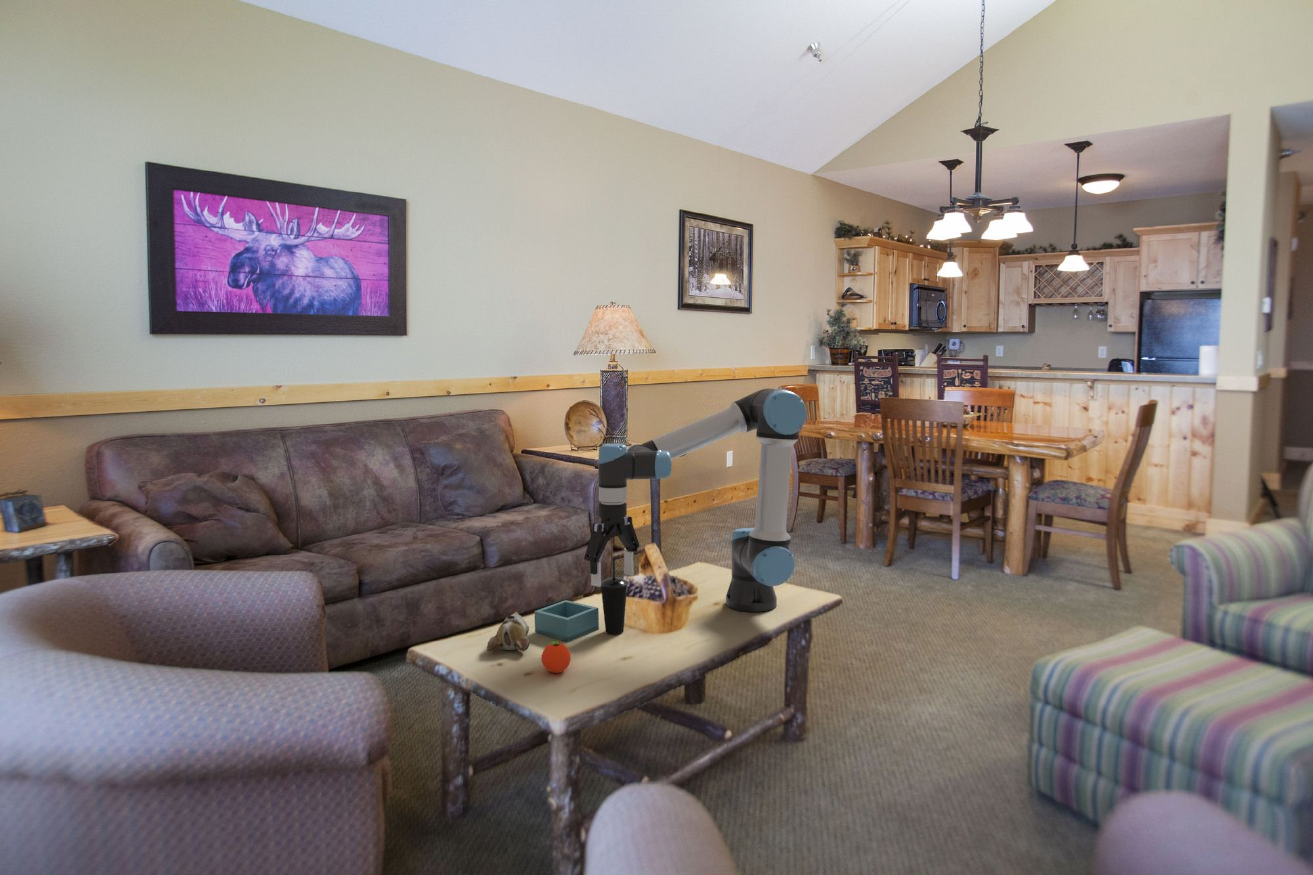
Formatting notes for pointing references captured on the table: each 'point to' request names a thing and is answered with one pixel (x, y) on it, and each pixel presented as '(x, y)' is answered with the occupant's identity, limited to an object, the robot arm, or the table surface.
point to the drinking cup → (614, 603)
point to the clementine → (556, 657)
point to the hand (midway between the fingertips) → (612, 580)
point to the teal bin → (566, 620)
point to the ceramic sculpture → (510, 635)
